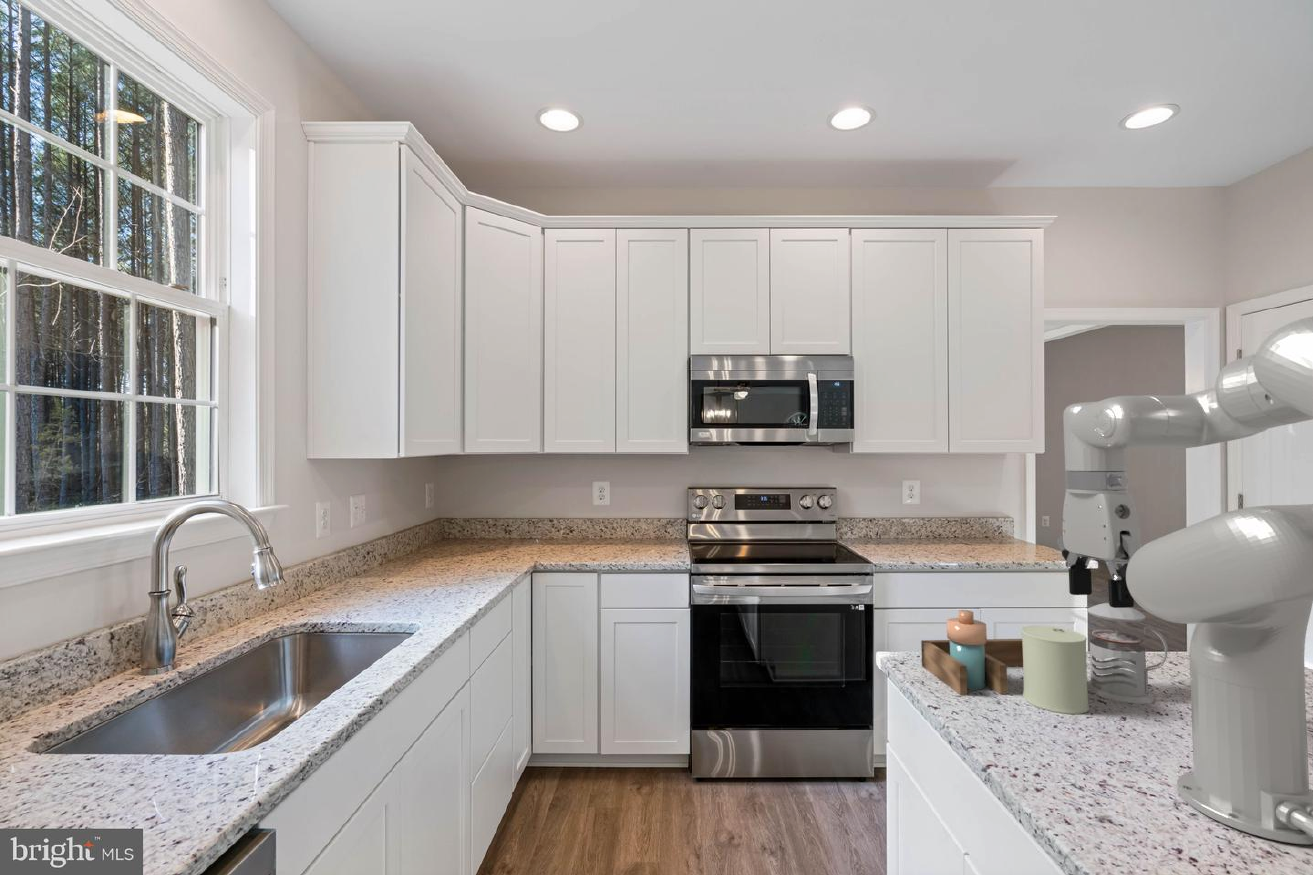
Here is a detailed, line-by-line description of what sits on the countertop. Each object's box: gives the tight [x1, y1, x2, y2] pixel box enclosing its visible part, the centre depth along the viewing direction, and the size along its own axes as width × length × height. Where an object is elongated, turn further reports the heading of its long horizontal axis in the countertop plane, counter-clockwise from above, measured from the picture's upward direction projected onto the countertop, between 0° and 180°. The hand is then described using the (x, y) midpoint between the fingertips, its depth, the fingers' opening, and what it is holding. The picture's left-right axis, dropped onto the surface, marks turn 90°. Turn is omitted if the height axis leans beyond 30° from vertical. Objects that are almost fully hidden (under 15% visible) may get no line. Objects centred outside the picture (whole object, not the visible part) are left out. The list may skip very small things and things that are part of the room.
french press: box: [1086, 602, 1169, 705], centre depth 101 cm, size 10×12×25 cm
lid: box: [946, 609, 988, 645], centre depth 106 cm, size 6×6×5 cm
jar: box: [950, 640, 987, 691], centre depth 106 cm, size 6×6×8 cm
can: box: [1020, 625, 1090, 715], centre depth 98 cm, size 9×9×12 cm
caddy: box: [920, 638, 1023, 696], centre depth 108 cm, size 14×22×5 cm, turn 91°
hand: (1100, 599), depth 88 cm, fingers open, 7 cm apart
